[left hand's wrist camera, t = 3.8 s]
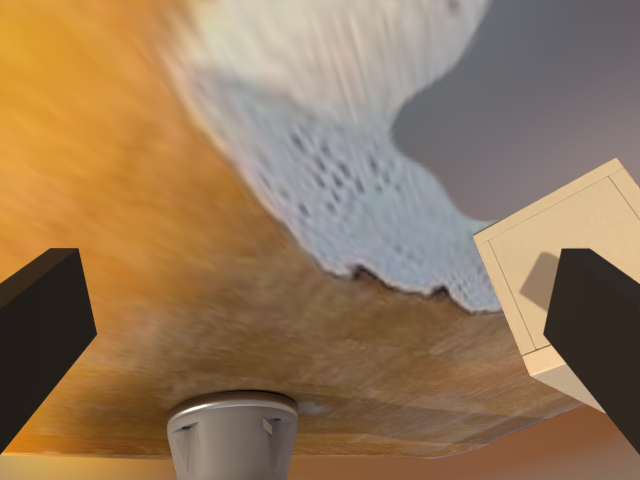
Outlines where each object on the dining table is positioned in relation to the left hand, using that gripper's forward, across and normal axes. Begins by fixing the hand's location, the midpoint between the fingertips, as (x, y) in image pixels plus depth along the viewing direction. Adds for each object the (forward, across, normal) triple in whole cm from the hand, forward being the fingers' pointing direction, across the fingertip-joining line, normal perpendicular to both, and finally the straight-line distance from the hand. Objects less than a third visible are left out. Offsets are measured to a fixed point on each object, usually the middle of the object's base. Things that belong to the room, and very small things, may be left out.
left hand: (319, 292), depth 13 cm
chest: (+20, -20, +7) cm, 29 cm away
